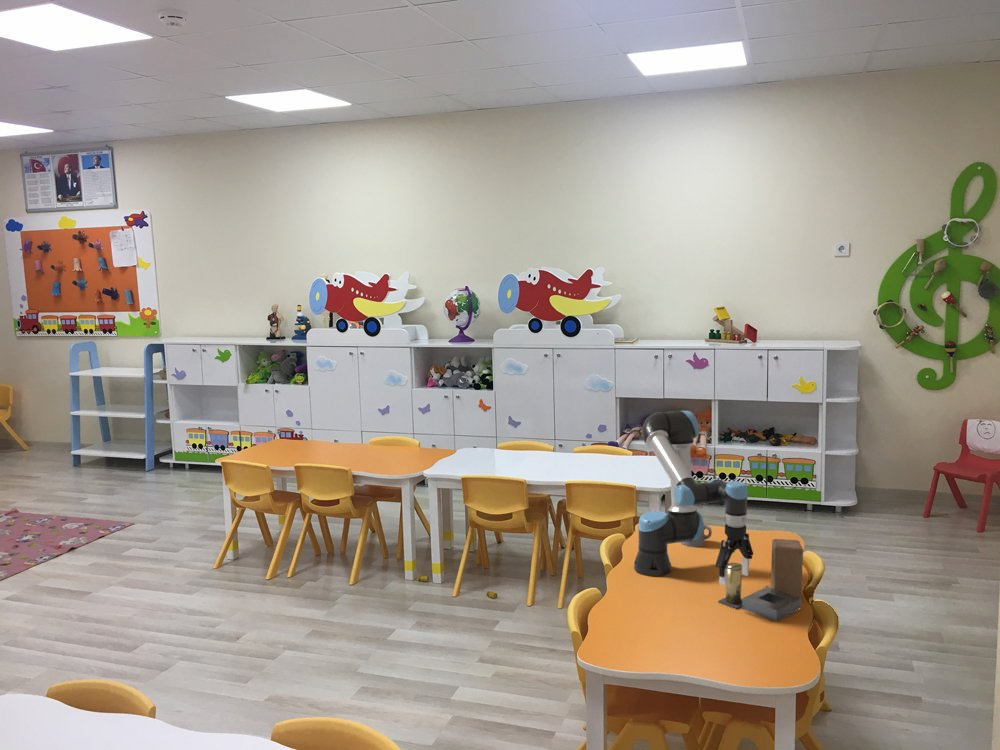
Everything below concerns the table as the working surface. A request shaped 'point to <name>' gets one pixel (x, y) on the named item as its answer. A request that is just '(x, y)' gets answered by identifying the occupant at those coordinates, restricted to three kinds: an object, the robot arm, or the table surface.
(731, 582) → the brass cylinder
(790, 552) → the wooden block
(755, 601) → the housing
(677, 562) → the table surface
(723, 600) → the pad
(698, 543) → the coffee mug
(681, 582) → the table surface
